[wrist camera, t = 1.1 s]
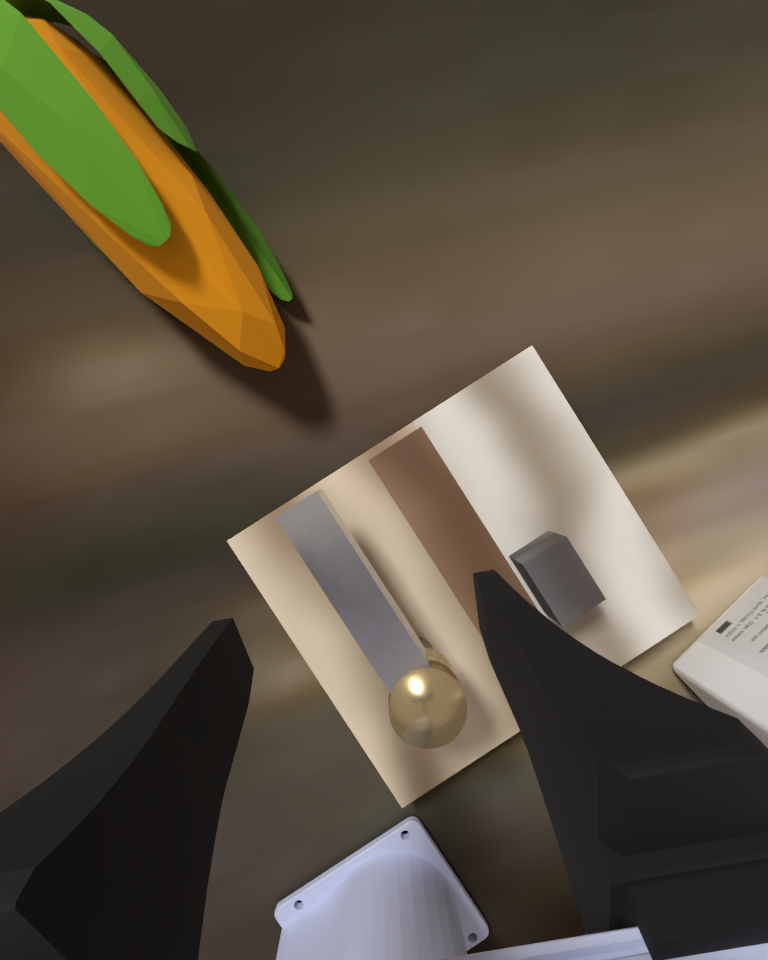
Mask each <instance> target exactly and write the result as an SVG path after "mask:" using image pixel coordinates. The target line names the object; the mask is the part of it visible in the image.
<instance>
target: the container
mask: <svg viewBox="0 0 768 960" xmlns="http://www.w3.org/2000/svg"><path fill="white" fill-rule="evenodd" d="M672 668H673V670H674V672H675V673H676V674H677V675H678V676H679V677H680V678H681V679H682V680H683V681H684V682H685V683H686V684H687V685H688V686H689V687H690V688H691V689H692V690H693V692H694V693H695V694H696V695H697V696H698V697H699V698H700V699H701V700H702V701H703V702H704V703H705V704H706V705H707V706H708V707H710V708H713V709H715V710H718V711H720V712H723V713H726V714H728V715H731V716H733V717H736V718H738V719H739V720H740V721H741V722H742V723H743V724H744V725H745V726H746V727H747V728H748V729H749V730H750V731H751V732H752V733H753V734H754V735H755V736H756V737H758V739H759V740H760V741H761V742H762V743H763V744H764V745H765V746H766V747H767V748H768V575H762V576H760V577H759V578H758V579H757V580H756V581H755V582H754V583H753V584H752V585H751V586H750V587H749V588H748V589H747V590H746V591H745V592H744V593H743V594H742V595H741V596H740V597H739V598H738V599H737V600H736V601H735V602H734V603H733V604H732V605H731V606H730V607H729V608H728V609H727V610H726V611H725V612H724V613H723V614H722V615H721V616H720V617H719V618H718V619H717V620H716V621H715V622H714V623H713V624H712V625H711V626H710V627H709V628H708V629H707V630H706V631H705V632H704V633H703V634H702V635H701V636H700V637H699V638H698V639H697V640H696V641H695V642H694V643H693V644H692V645H691V646H690V647H689V648H688V649H687V650H686V651H685V652H684V653H683V654H682V655H681V656H680V657H679V658H678V659H677V660H676V661H675V662H674V663H673V665H672Z"/></svg>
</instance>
